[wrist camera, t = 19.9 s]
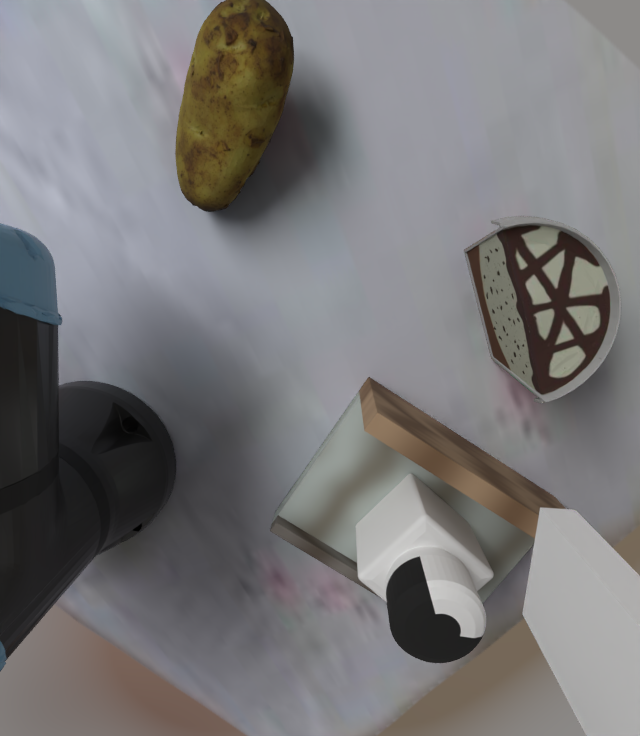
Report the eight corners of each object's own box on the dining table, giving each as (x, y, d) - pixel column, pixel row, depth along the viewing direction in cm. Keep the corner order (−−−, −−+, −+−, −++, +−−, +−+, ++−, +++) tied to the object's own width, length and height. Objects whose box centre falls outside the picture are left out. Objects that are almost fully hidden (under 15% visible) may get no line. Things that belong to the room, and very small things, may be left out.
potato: (146, 149, 36) (91, 115, 28) (258, 19, 33) (233, -57, 26) (220, 228, 37) (187, 216, 29) (334, 107, 34) (332, 59, 27)
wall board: (275, 511, 42) (254, 584, 32) (368, 376, 39) (377, 412, 29) (450, 618, 43) (482, 718, 34) (554, 496, 40) (622, 568, 30)
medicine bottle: (411, 574, 40) (440, 698, 29) (353, 525, 40) (357, 631, 28) (469, 522, 39) (524, 630, 27) (410, 470, 38) (440, 558, 26)
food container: (568, 353, 38) (647, 382, 28) (495, 375, 38) (547, 410, 28) (536, 206, 35) (610, 181, 25) (459, 231, 36) (502, 217, 26)
